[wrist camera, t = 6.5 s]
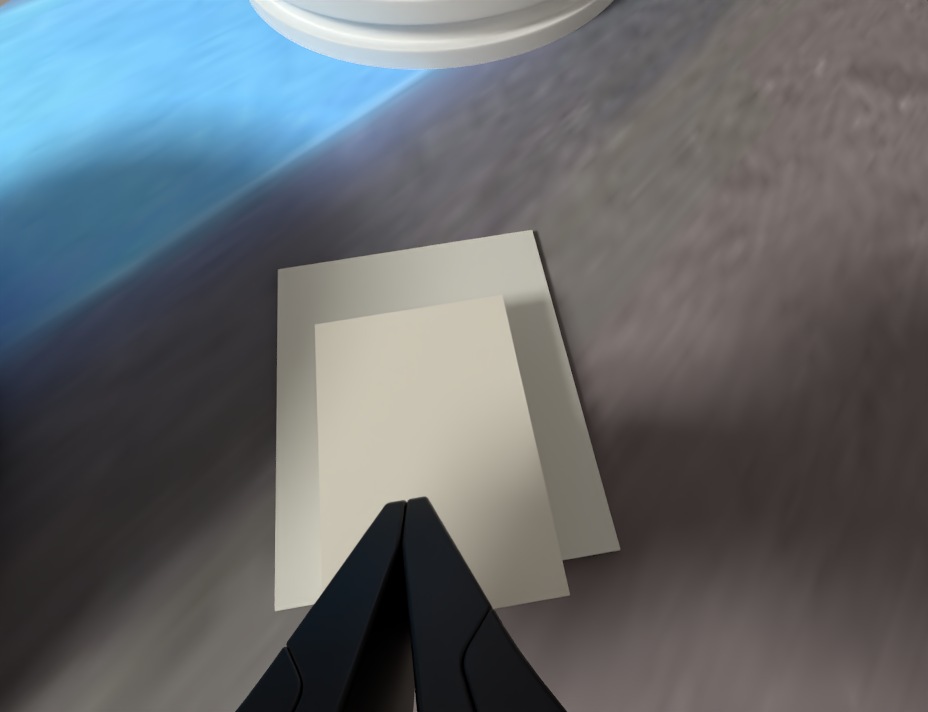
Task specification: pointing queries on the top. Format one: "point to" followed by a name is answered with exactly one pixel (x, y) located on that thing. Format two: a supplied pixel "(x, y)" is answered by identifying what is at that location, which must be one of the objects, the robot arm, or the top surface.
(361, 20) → the plate stack
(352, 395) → the beige rectangular block
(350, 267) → the mat
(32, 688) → the top surface
